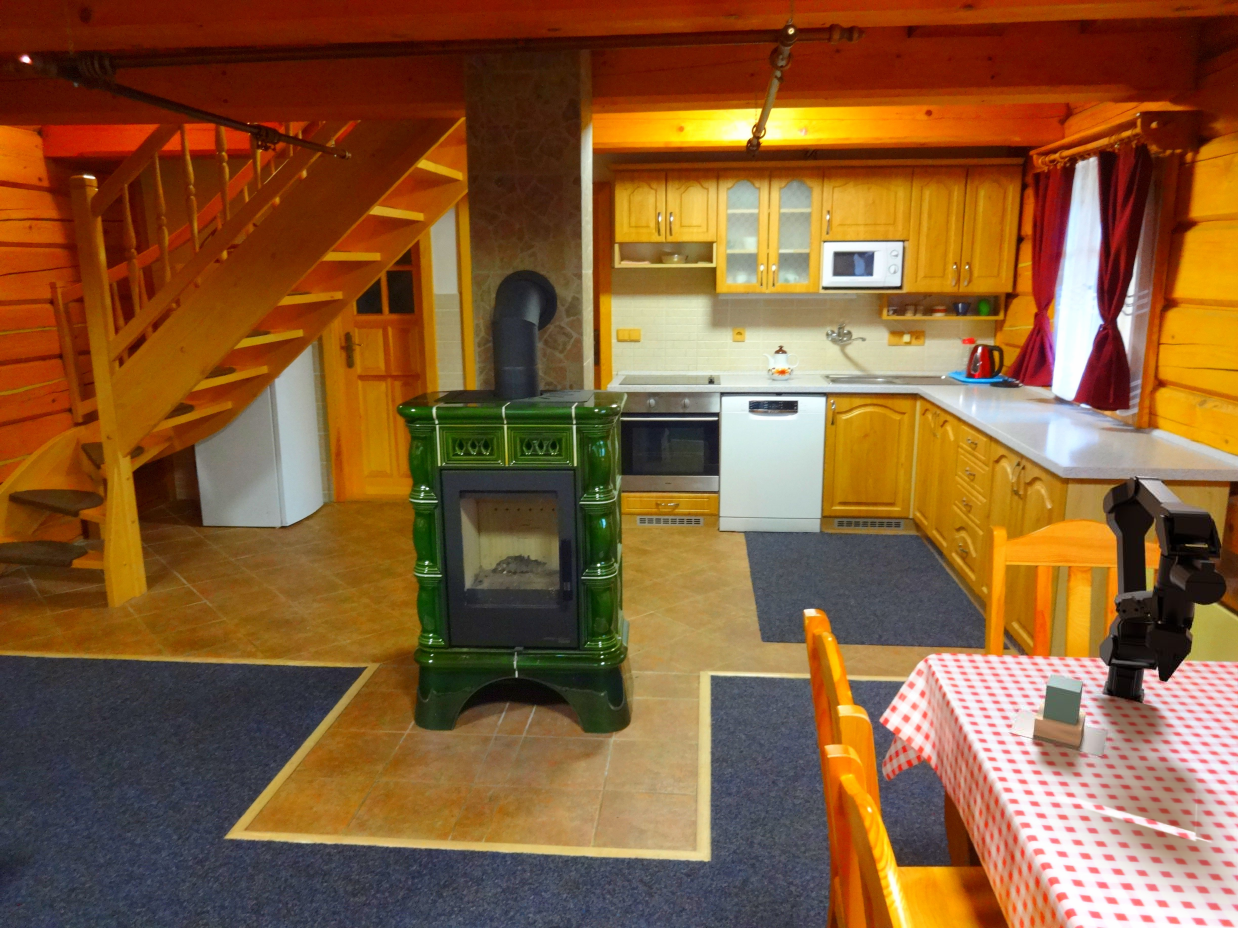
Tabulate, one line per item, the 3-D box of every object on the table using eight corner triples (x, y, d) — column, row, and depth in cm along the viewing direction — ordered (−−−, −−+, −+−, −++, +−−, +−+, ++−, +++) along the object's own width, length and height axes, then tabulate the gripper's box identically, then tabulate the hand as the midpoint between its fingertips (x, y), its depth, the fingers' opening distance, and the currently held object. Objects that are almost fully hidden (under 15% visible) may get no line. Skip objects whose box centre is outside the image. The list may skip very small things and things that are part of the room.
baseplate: (1019, 711, 158) (1020, 708, 158) (1107, 733, 150) (1107, 730, 150) (1009, 735, 150) (1009, 732, 150) (1101, 759, 142) (1101, 756, 142)
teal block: (1047, 705, 153) (1050, 673, 151) (1079, 713, 150) (1083, 681, 149) (1043, 717, 149) (1046, 684, 147) (1075, 725, 146) (1079, 692, 145)
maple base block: (1039, 717, 155) (1041, 701, 154) (1084, 728, 151) (1085, 712, 150) (1033, 734, 149) (1034, 718, 148) (1078, 746, 145) (1080, 729, 144)
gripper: (1125, 559, 156) (1115, 641, 159) (1115, 589, 141) (1104, 679, 144) (1200, 571, 150) (1187, 655, 153) (1197, 604, 135) (1184, 697, 138)
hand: (1164, 670), depth 147 cm, fingers open, 9 cm apart
